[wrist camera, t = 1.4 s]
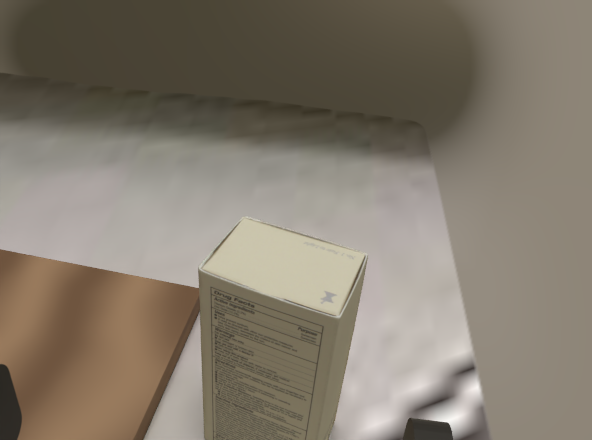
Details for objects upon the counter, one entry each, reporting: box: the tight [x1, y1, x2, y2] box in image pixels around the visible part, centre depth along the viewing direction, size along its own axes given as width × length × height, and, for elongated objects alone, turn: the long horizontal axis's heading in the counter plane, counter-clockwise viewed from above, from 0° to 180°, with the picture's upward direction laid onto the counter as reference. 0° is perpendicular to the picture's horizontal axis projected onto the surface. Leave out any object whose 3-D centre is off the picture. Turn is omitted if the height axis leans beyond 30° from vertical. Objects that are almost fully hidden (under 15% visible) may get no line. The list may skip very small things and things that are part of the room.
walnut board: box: [0, 250, 200, 440], centre depth 28 cm, size 14×22×2 cm, turn 171°
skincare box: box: [198, 216, 368, 440], centre depth 26 cm, size 6×4×12 cm
